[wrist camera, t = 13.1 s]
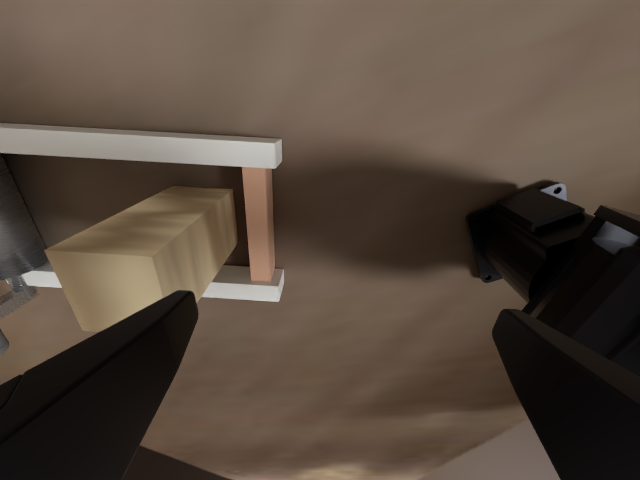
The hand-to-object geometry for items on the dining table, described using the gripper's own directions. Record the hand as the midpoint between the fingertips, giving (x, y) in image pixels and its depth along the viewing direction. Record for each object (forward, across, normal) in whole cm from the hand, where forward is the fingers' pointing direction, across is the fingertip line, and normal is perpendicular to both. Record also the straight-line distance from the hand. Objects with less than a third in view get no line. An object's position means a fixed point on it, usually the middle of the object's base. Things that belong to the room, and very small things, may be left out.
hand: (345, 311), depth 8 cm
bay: (+13, +16, +4) cm, 21 cm away
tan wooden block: (+13, +10, +3) cm, 17 cm away
